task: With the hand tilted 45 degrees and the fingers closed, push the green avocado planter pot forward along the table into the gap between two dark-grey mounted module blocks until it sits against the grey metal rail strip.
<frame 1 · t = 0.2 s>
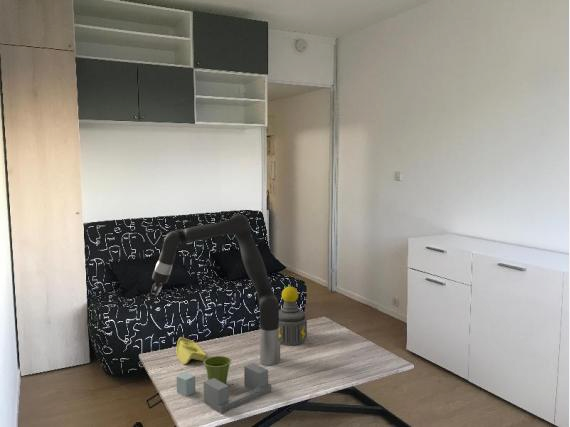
hand: (151, 303, 224), 31 cm above the table, tool tilted 20°, fingers open, 8 cm apart
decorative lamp: (290, 340, 260), on the table
plant pot: (218, 386, 206), on the table
plastic component: (190, 357, 238), on the table
rail strip: (246, 401, 192), on the table
module 1: (216, 405, 189), on the table
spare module: (186, 391, 200), on the table
module 2: (256, 388, 203), on the table
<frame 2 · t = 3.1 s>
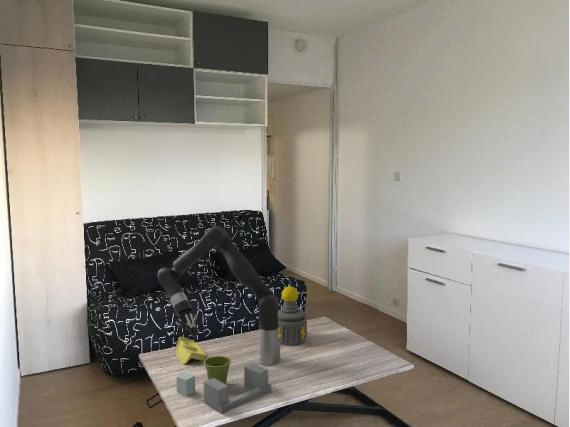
hand: (195, 335, 216), 18 cm above the table, tool tilted 45°, fingers closed
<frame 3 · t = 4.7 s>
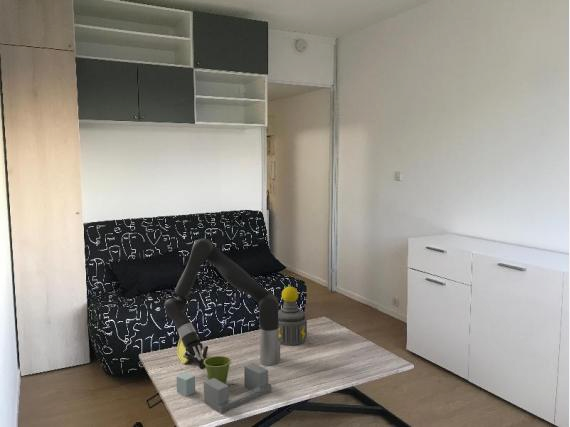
hand: (203, 368, 213), 4 cm above the table, tool tilted 45°, fingers closed
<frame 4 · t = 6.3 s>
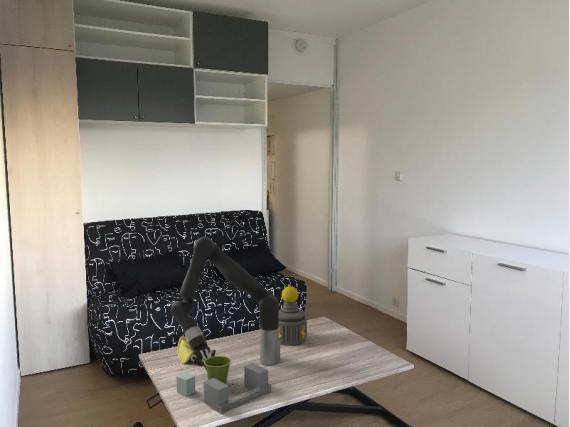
hand: (211, 372, 209), 4 cm above the table, tool tilted 45°, fingers closed
plant pot: (218, 386, 206), on the table, touching gripper
everything else where it was.
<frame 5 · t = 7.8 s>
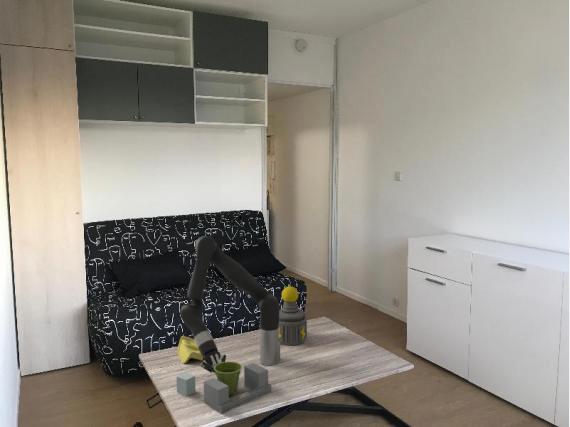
hand: (222, 378, 203), 4 cm above the table, tool tilted 45°, fingers closed
plant pot: (228, 392, 200), on the table, touching gripper
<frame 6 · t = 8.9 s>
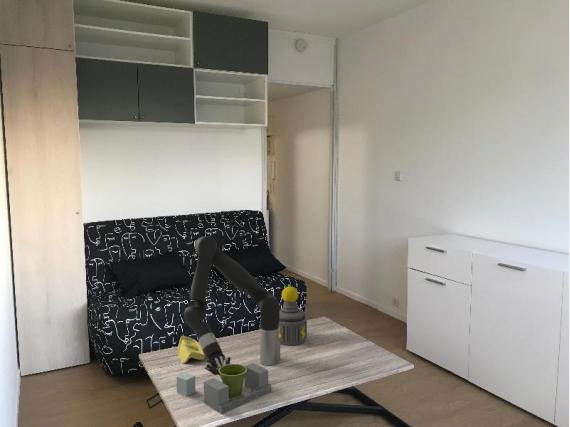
hand: (226, 381, 200), 4 cm above the table, tool tilted 45°, fingers closed
plant pot: (233, 395, 197), on the table, touching gripper
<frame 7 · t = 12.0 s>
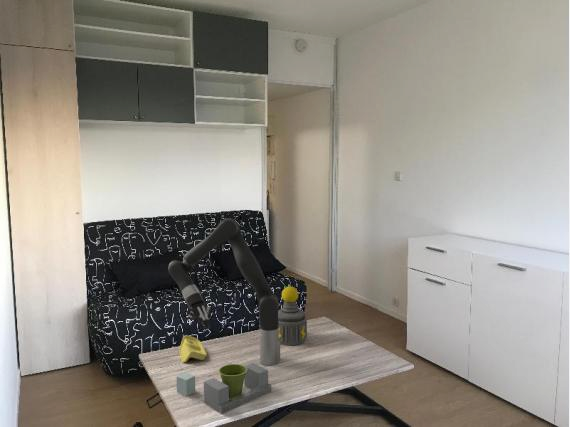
hand: (208, 328, 212), 23 cm above the table, tool tilted 45°, fingers closed
plant pot: (233, 395, 197), on the table
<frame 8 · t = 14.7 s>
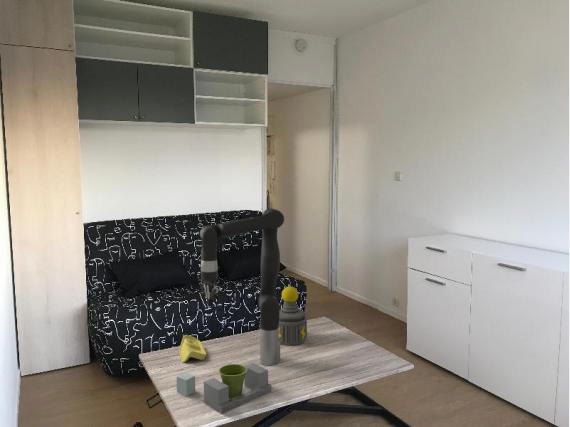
hand: (210, 306, 218), 31 cm above the table, tool pointing down, fingers closed
at the end: plant pot inside the target area (0.6 cm from its centre), on the table; plant pot tilted 0°; plant pot moved 11.6 cm from its start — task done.
